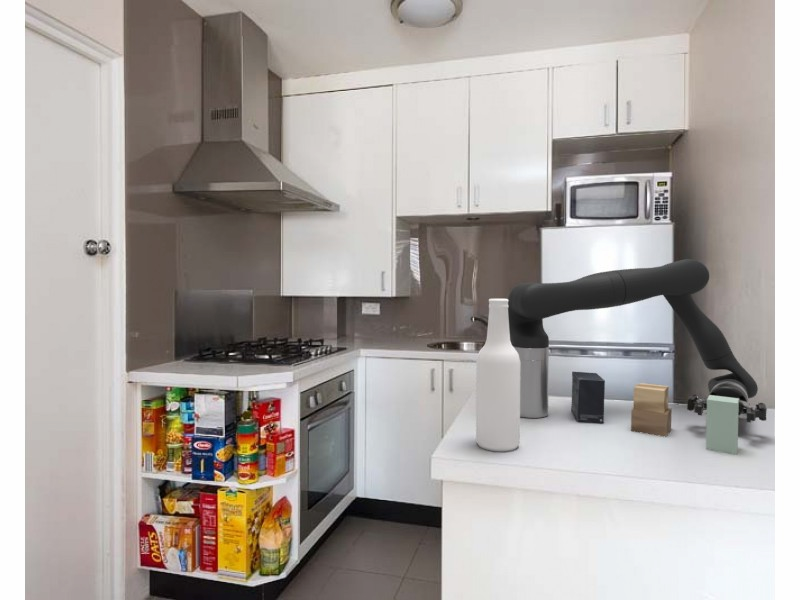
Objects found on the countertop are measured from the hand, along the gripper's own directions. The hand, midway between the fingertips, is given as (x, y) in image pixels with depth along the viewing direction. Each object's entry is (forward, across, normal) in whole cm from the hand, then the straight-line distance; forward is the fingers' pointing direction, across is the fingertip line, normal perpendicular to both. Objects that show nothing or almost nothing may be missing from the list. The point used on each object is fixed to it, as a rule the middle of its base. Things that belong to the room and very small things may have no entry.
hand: (723, 414), depth 101 cm
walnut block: (0, -14, +6) cm, 15 cm away
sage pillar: (+4, 0, +6) cm, 8 cm away
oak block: (0, -14, +1) cm, 14 cm away
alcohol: (+30, -37, +6) cm, 48 cm away
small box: (-3, -28, +6) cm, 29 cm away
